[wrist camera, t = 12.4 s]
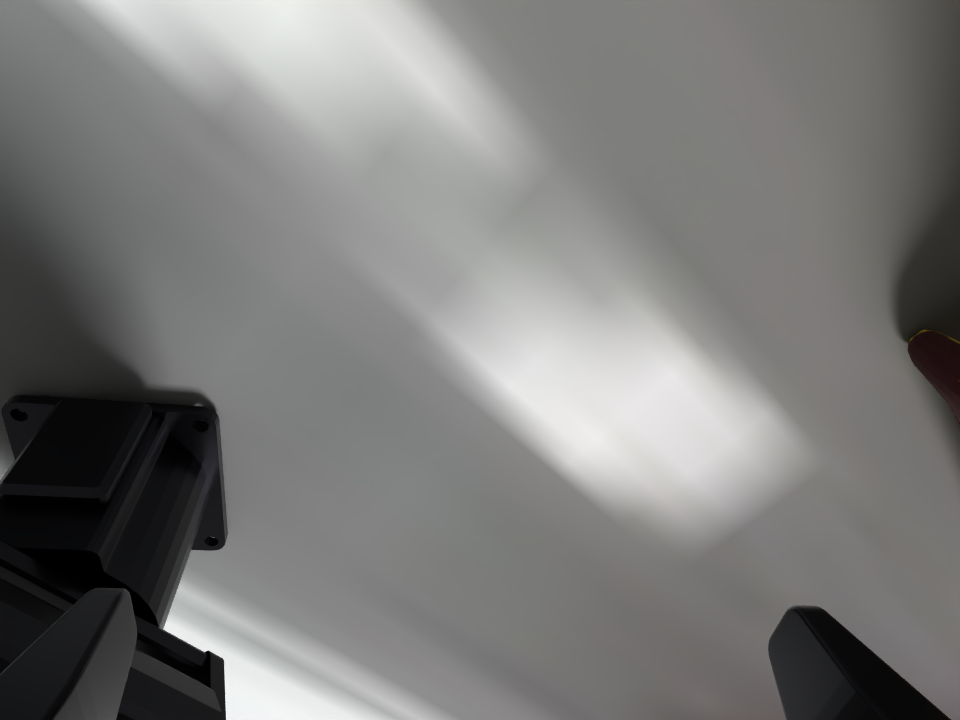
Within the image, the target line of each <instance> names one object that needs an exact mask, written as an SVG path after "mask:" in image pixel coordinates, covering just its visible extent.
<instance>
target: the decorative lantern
mask: <svg viewBox="0 0 960 720" xmlns="http://www.w3.org/2000/svg"><path fill="white" fill-rule="evenodd" d="M908 353H909V355H910V357H911V360H912V362H913V363H914V365H915V366H916V367H917V368H918V370H919V371H920V372H921V373H922V374H923V375H924V376H925V377H926V379H927V380H928V381H929V382H930V383H931V384H932V385H933V387H934V388H935V389H936V390H937V391H938V392H939V393H940V394H941V396H942V397H943V398H944V399H945V400H946V401H947V402H948V404H949V406H950V407H951V409H952V411H953V413H954V414H955V416H956V418H957V419H958V421H959V423H960V342H959V341H957V340H955V339H953V338H951V337H949V336H947V335H945V334H943V333H941V332H939V331H932V330H922V331H920V332H919V333H917V334H916V335H914V336H913V337H912V338H911V339H910V341H909V345H908Z"/></svg>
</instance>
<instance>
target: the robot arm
mask: <svg viewBox="0 0 960 720" xmlns="http://www.w3.org/2000/svg"><path fill="white" fill-rule="evenodd" d="M18 409H21V410H23V411H25V412H26V413H27V414H25V413H22V412H20V411H19V410H18ZM2 416H3V420H4V423H5V427H6V430H7V433H8V437H9V440H10V444H11V447H12V451H13V454H14V457H15V461H14V463H13V464H12V465H11V467H10V468H9V470H8V471H7V472H6V474H5V475H4V476H3V478H2V479H1V481H0V720H226V711H225V680H224V660H223V658H221V657H219V656H217V655H215V654H214V653H212V652H210V651H206V652H203V651H201V650H199V649H197V648H196V647H194V646H192V645H190V644H188V643H187V642H185V641H183V640H181V639H179V638H177V637H176V636H174V635H172V634H170V633H168V632H167V631H165V630H163V628H164V626H165V623H166V620H167V617H168V614H169V611H170V608H171V606H172V603H173V600H174V597H175V594H176V591H177V588H178V586H179V583H180V580H181V577H182V574H183V571H184V568H185V566H186V563H187V560H188V557H189V554H190V551H191V550H219V549H221V548H222V547H223V546H224V545H225V542H226V539H227V535H228V530H227V517H226V504H225V491H224V477H223V464H222V451H221V437H220V424H219V418H218V415H217V414H216V413H215V411H213V410H211V409H210V408H207V407H200V406H185V405H169V404H154V403H139V402H124V401H108V400H92V399H77V398H61V397H45V396H30V395H16V396H14V397H12V398H10V399H9V401H8V402H7V403H6V404H5V405H4V407H3V408H2ZM197 420H202V421H205V422H206V423H207V424H205V425H204V424H200V423H199V422H197ZM212 537H215V538H212ZM768 651H769V658H770V662H771V665H772V669H773V673H774V676H775V680H776V684H777V688H778V691H779V695H780V699H781V702H782V706H783V710H784V714H785V717H786V720H951V719H950V718H948V717H947V716H946V715H945V714H944V713H943V712H942V711H940V710H939V709H938V708H937V707H936V706H935V705H933V704H932V703H931V702H930V701H929V700H928V699H927V698H925V697H924V696H923V695H922V694H921V693H920V692H918V691H917V690H916V689H915V688H914V687H913V686H912V685H910V684H909V683H908V682H907V681H906V680H905V679H904V678H902V677H901V676H900V675H899V674H898V673H897V672H895V671H894V670H893V669H892V668H891V667H890V666H889V665H887V664H886V663H885V662H884V661H883V660H882V659H880V658H879V657H878V656H877V655H876V654H875V653H874V652H872V651H871V650H870V649H869V648H868V647H867V646H866V645H864V644H863V643H862V642H861V641H860V640H859V639H857V638H856V637H855V636H854V635H853V634H852V633H851V632H849V631H848V630H847V629H846V628H845V627H844V626H842V625H841V624H840V623H839V622H838V621H837V620H836V619H834V618H833V617H832V616H831V615H830V614H829V613H828V612H826V611H825V610H824V609H822V608H820V607H817V606H799V605H795V606H792V607H790V608H789V609H788V610H787V611H786V613H785V614H784V616H783V618H782V619H781V621H780V622H779V624H778V626H777V627H776V629H775V631H774V632H773V634H772V636H771V637H770V640H769V646H768Z"/></svg>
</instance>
